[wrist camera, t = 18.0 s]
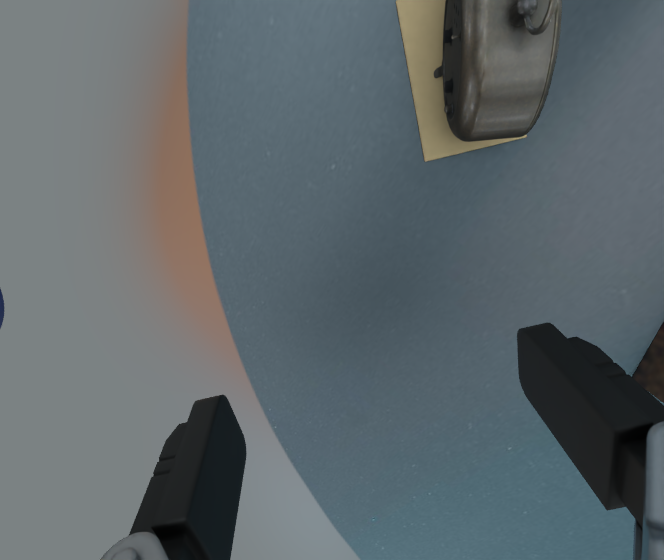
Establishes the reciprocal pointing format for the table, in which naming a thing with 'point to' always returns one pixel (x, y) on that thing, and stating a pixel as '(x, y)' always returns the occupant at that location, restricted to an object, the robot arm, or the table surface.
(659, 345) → the book
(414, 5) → the mat
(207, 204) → the table surface
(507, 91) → the alarm clock
